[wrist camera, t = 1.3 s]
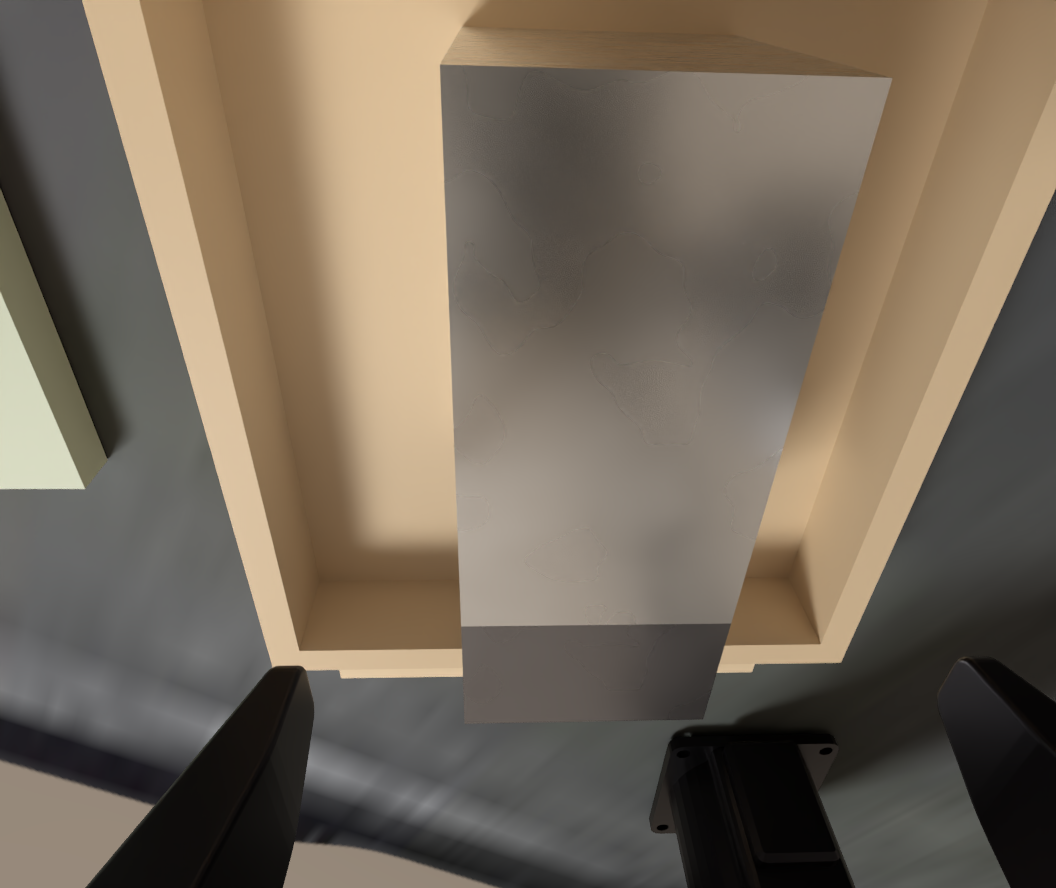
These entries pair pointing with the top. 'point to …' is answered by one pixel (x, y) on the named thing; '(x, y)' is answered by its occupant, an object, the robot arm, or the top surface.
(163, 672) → the top surface
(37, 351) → the sage board
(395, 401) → the tray
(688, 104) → the metal tin
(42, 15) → the top surface
